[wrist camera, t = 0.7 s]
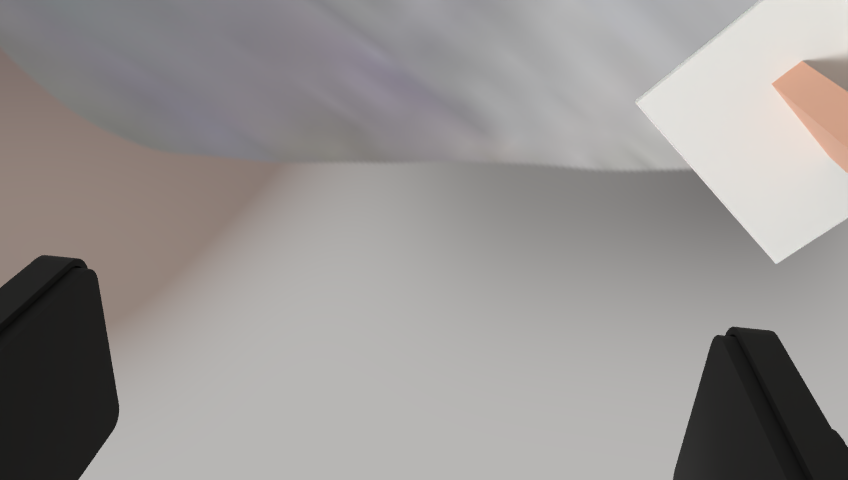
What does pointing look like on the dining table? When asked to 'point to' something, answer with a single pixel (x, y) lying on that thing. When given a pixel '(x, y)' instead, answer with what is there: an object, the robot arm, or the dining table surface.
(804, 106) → the domino
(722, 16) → the dining table surface
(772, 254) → the runner mat
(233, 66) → the dining table surface
